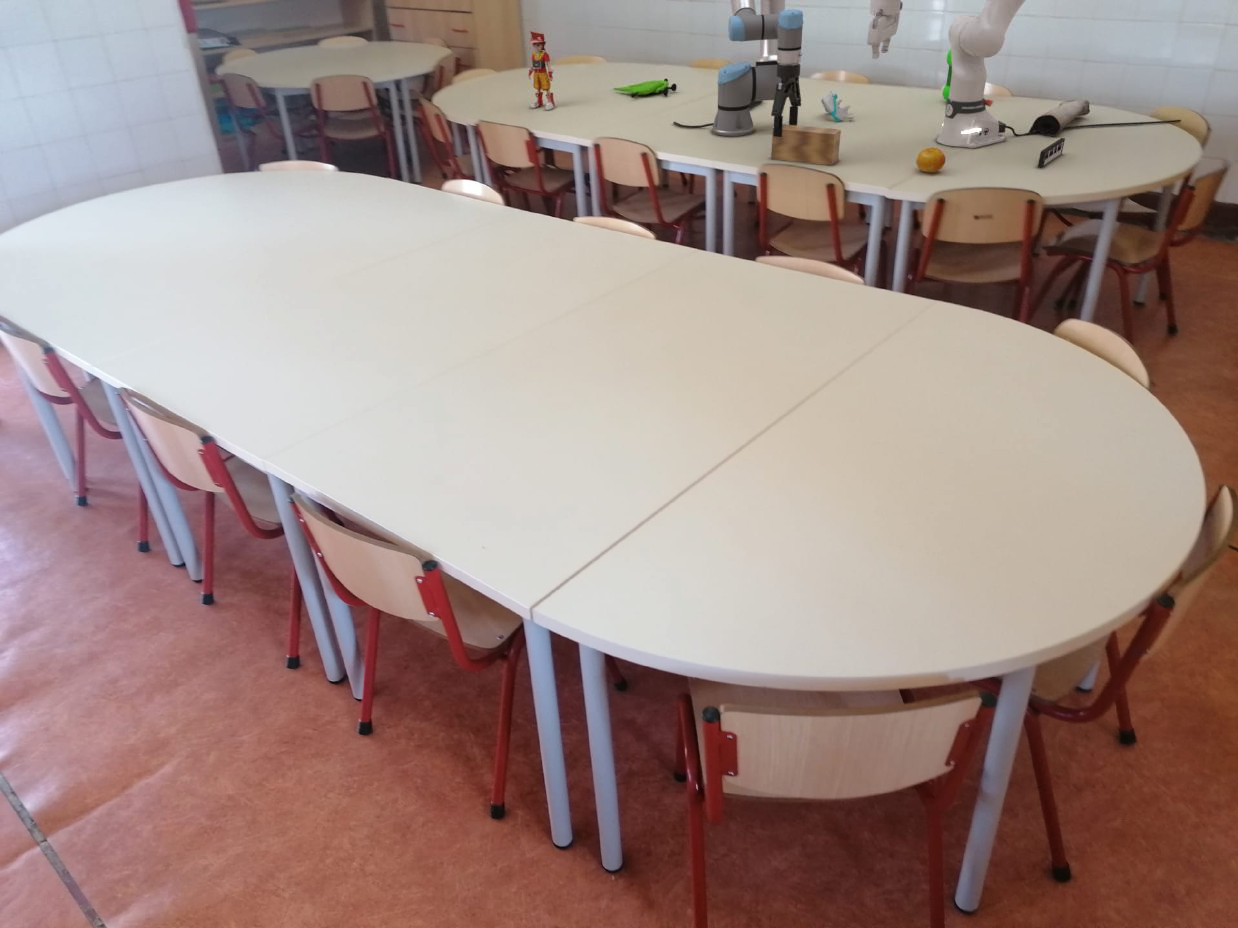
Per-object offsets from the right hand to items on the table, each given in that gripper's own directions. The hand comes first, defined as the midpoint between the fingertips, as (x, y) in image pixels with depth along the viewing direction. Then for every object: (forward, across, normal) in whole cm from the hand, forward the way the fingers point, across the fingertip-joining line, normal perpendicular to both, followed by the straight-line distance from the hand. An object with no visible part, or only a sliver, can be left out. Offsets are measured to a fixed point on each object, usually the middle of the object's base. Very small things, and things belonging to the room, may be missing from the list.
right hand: (880, 55), depth 286 cm
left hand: (+23, -13, +26) cm, 36 cm away
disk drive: (+31, +49, +68) cm, 90 cm away
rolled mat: (+31, +57, -51) cm, 83 cm away
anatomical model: (+31, +43, +27) cm, 60 cm away
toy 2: (+31, +58, +121) cm, 138 cm away
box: (+31, -12, +18) cm, 38 cm away
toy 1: (+31, +20, +148) cm, 153 cm away
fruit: (+31, -11, -23) cm, 40 cm away
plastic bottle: (+31, +80, -9) cm, 86 cm away
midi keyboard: (+31, +13, -55) cm, 64 cm away
